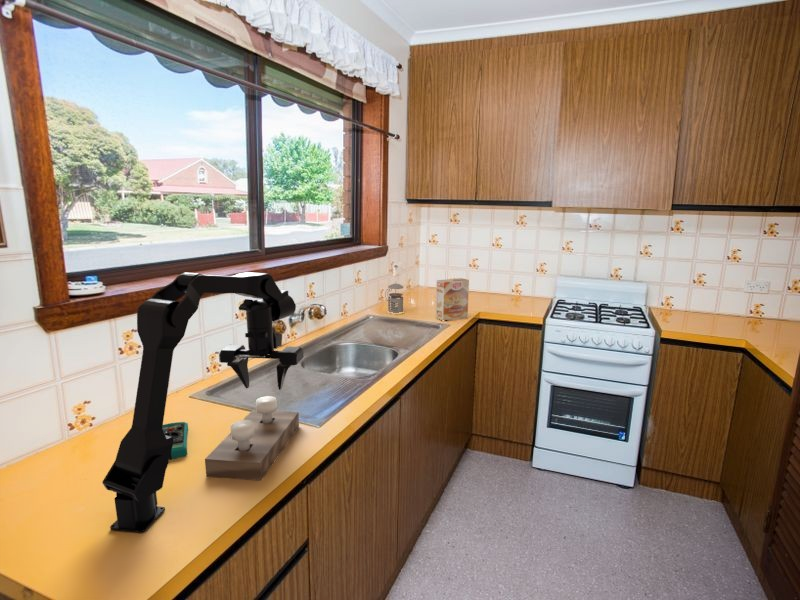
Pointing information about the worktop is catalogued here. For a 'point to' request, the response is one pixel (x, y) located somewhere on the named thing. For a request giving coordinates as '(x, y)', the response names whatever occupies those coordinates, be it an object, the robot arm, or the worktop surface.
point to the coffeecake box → (452, 299)
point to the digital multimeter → (177, 438)
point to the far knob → (266, 408)
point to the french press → (393, 298)
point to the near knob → (243, 433)
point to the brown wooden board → (253, 448)
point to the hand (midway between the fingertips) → (263, 388)
